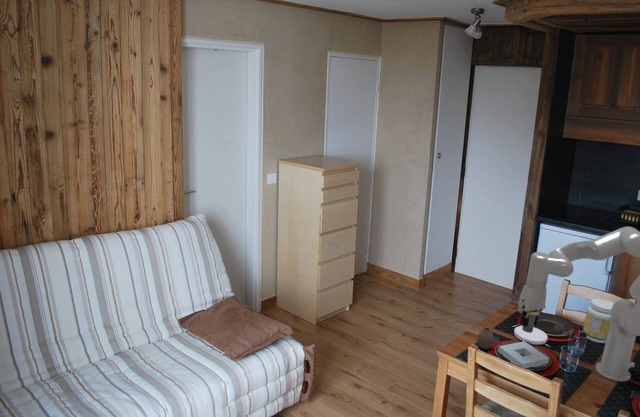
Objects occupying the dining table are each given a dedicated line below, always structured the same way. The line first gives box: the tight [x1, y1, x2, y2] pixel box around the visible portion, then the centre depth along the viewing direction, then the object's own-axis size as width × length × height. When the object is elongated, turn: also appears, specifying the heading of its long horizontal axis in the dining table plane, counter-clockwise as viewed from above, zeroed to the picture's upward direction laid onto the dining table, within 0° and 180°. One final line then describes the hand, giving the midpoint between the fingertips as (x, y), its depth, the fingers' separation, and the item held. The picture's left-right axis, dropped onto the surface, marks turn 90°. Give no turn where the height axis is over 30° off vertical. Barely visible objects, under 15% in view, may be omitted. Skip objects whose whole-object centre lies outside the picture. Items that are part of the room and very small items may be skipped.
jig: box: [497, 341, 550, 368], centre depth 223 cm, size 14×14×4 cm
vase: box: [476, 327, 495, 350], centre depth 231 cm, size 7×7×9 cm
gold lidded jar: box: [522, 310, 539, 333], centre depth 218 cm, size 6×6×9 cm
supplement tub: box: [582, 298, 615, 344], centre depth 245 cm, size 12×12×17 cm
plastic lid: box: [513, 325, 548, 345], centre depth 242 cm, size 14×14×2 cm
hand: (528, 324), depth 219 cm, fingers closed on gold lidded jar, 4 cm apart
